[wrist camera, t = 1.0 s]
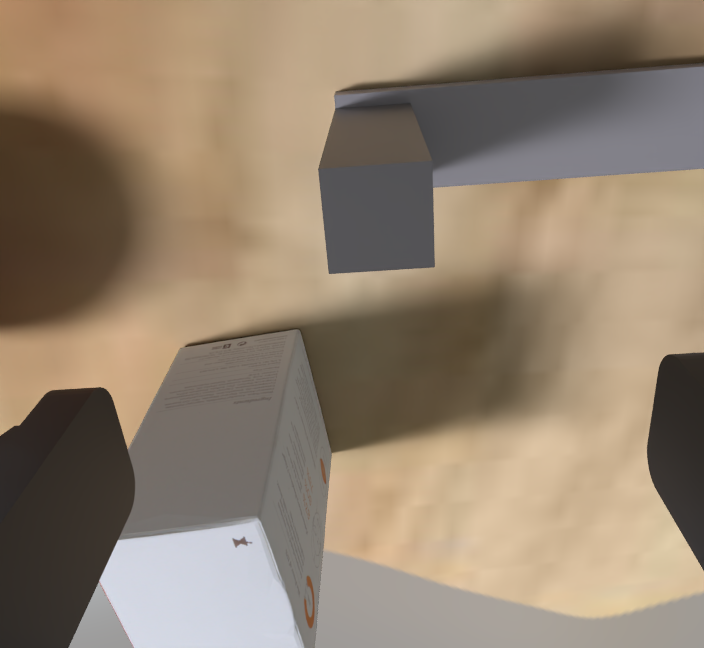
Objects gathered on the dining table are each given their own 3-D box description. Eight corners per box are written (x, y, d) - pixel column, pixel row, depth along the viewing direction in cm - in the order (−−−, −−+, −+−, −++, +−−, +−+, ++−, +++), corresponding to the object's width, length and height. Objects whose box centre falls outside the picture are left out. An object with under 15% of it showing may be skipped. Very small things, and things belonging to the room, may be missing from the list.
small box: (178, 344, 32) (72, 542, 21) (301, 325, 32) (263, 517, 20) (222, 470, 36) (153, 697, 24) (334, 455, 35) (317, 681, 24)
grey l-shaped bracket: (335, 91, 27) (316, 149, 17) (771, 57, 26) (1025, 97, 16) (343, 186, 29) (330, 290, 19) (751, 157, 28) (967, 250, 18)
